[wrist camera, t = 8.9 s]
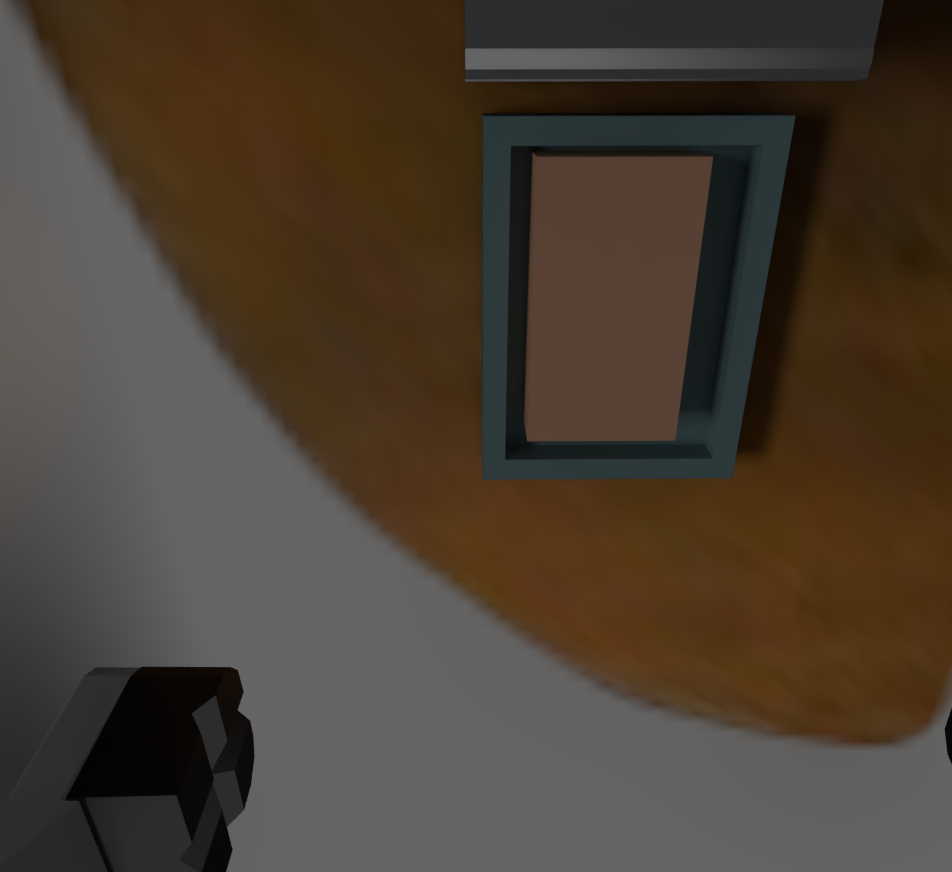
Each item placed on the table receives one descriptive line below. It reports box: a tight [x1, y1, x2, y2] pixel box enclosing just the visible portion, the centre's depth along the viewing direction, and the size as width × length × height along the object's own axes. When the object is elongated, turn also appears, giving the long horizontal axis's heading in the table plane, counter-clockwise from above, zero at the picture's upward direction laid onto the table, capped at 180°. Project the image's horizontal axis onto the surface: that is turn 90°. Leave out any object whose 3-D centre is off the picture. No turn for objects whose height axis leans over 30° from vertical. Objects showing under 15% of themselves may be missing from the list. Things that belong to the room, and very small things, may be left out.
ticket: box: [523, 150, 713, 441], centre depth 24 cm, size 9×5×2 cm, turn 0°
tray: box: [482, 113, 795, 480], centre depth 25 cm, size 12×9×2 cm
